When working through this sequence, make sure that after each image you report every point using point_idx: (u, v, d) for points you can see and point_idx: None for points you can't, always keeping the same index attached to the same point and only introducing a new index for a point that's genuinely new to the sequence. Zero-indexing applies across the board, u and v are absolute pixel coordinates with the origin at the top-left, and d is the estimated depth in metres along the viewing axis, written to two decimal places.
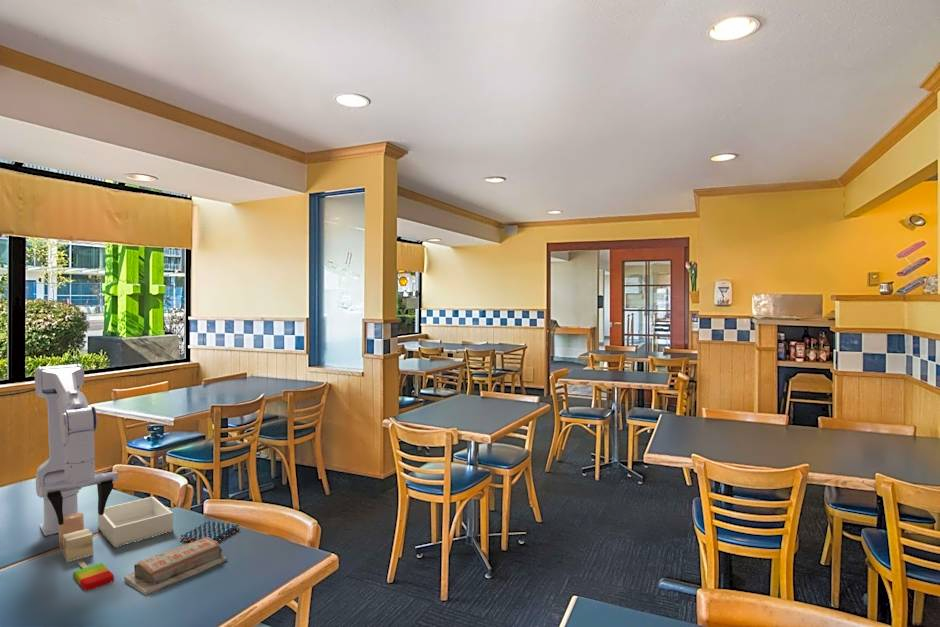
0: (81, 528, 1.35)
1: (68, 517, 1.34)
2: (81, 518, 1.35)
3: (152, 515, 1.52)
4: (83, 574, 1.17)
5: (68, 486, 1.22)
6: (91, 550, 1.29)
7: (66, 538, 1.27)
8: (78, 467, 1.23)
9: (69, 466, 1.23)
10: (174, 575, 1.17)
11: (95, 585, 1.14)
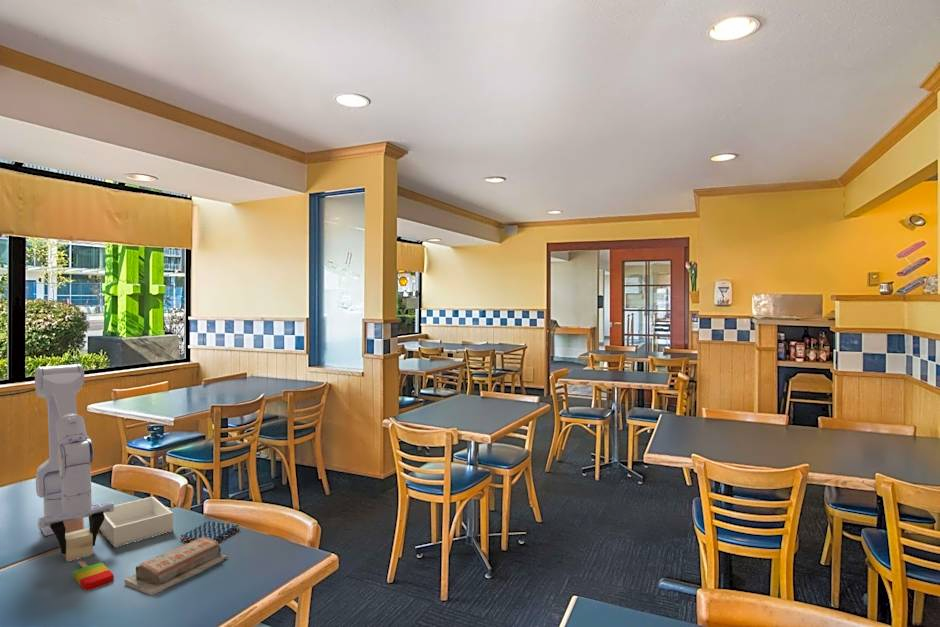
0: (81, 528, 1.35)
1: None
2: (81, 518, 1.35)
3: (152, 515, 1.52)
4: (83, 573, 1.17)
5: (65, 518, 1.26)
6: (91, 550, 1.29)
7: (66, 538, 1.27)
8: (75, 499, 1.27)
9: (66, 499, 1.26)
10: (178, 575, 1.17)
11: (95, 585, 1.14)
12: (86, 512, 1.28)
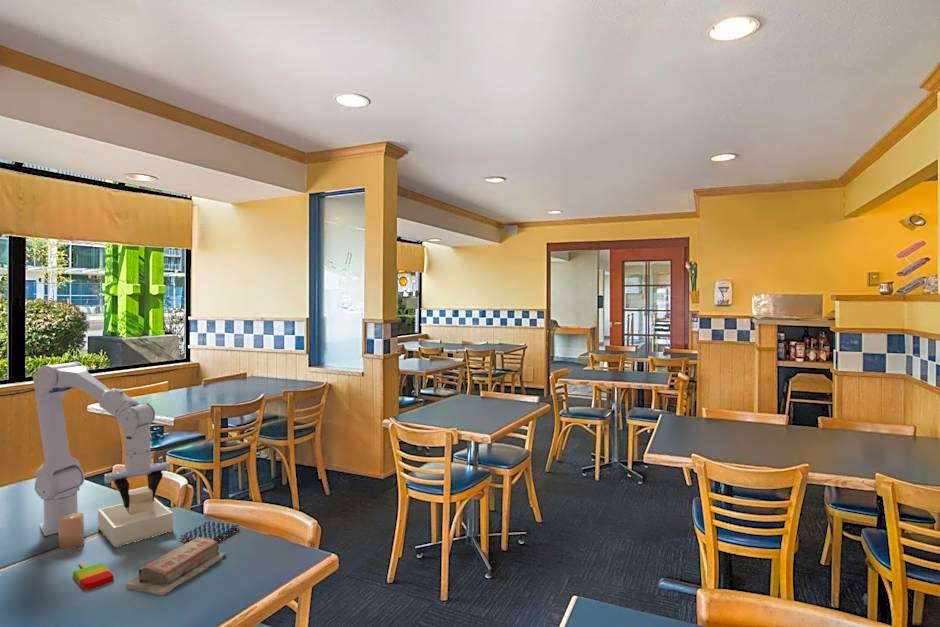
0: (81, 528, 1.35)
1: (68, 517, 1.34)
2: (81, 518, 1.35)
3: (152, 515, 1.52)
4: (83, 574, 1.17)
5: (129, 474, 1.37)
6: (151, 505, 1.40)
7: (129, 493, 1.38)
8: (137, 457, 1.38)
9: (129, 456, 1.37)
10: (183, 574, 1.18)
11: (95, 585, 1.14)
12: (147, 469, 1.39)
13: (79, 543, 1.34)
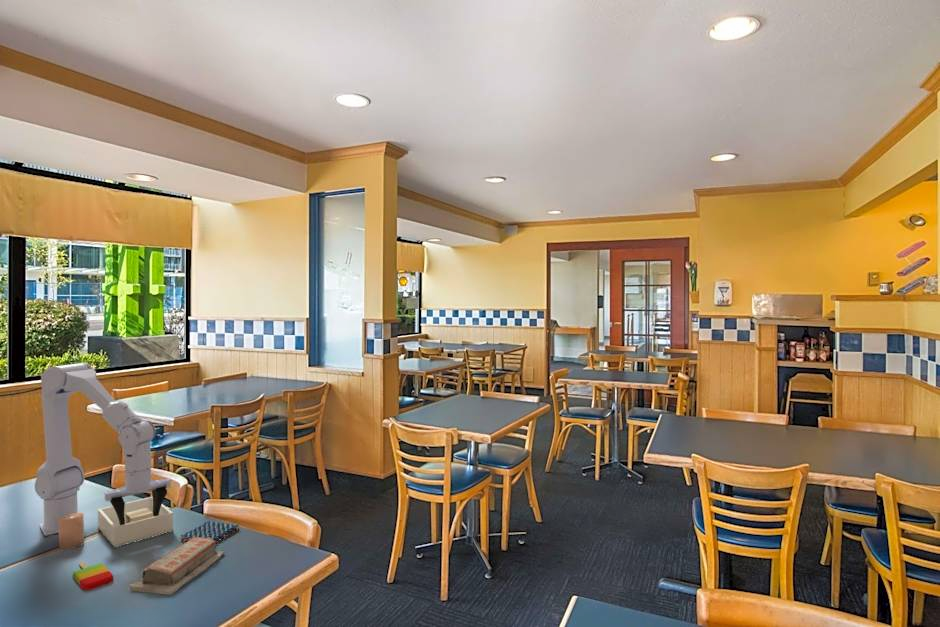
0: (81, 528, 1.35)
1: (68, 517, 1.34)
2: (81, 518, 1.35)
3: None
4: (82, 574, 1.17)
5: (129, 492, 1.37)
6: None
7: (129, 516, 1.38)
8: (137, 475, 1.38)
9: (130, 474, 1.38)
10: (187, 573, 1.18)
11: (95, 585, 1.14)
12: (147, 487, 1.40)
13: (79, 543, 1.34)
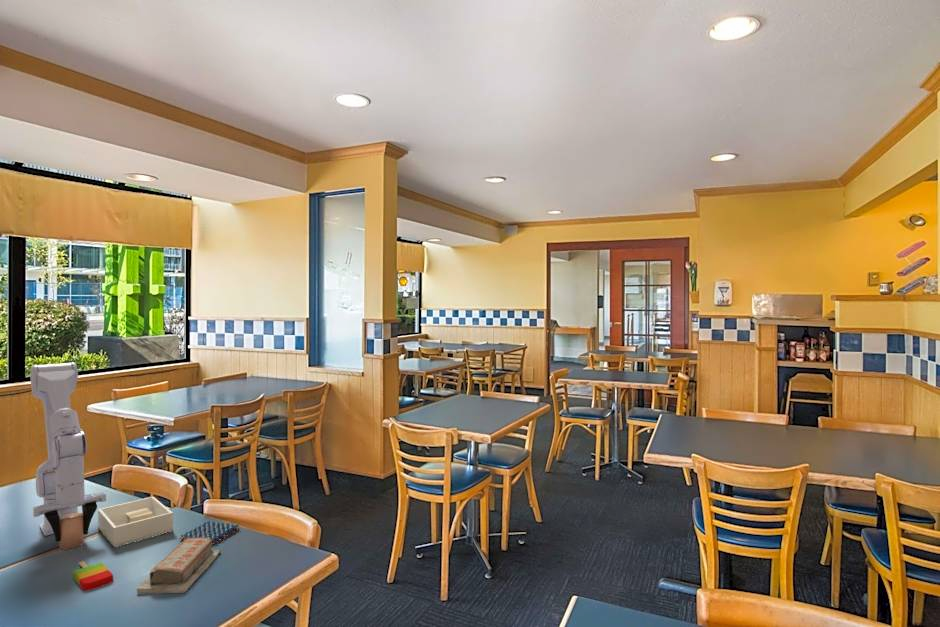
0: (81, 528, 1.35)
1: (68, 517, 1.34)
2: (81, 518, 1.35)
3: None
4: (82, 574, 1.17)
5: (59, 507, 1.31)
6: None
7: (129, 516, 1.38)
8: (68, 489, 1.32)
9: (60, 488, 1.32)
10: (193, 572, 1.18)
11: (94, 585, 1.14)
12: (79, 501, 1.34)
13: (79, 543, 1.34)
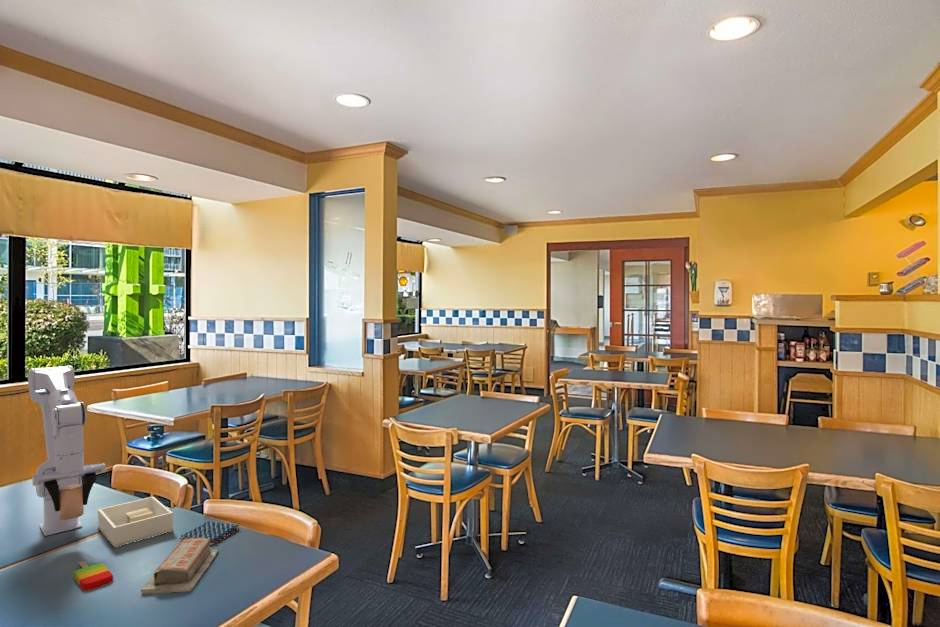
0: (81, 499, 1.35)
1: (68, 488, 1.34)
2: (80, 490, 1.35)
3: None
4: (82, 574, 1.17)
5: (58, 476, 1.31)
6: None
7: (129, 516, 1.38)
8: (68, 459, 1.32)
9: (59, 458, 1.32)
10: (196, 571, 1.19)
11: (94, 585, 1.14)
12: (79, 471, 1.34)
13: (79, 514, 1.34)
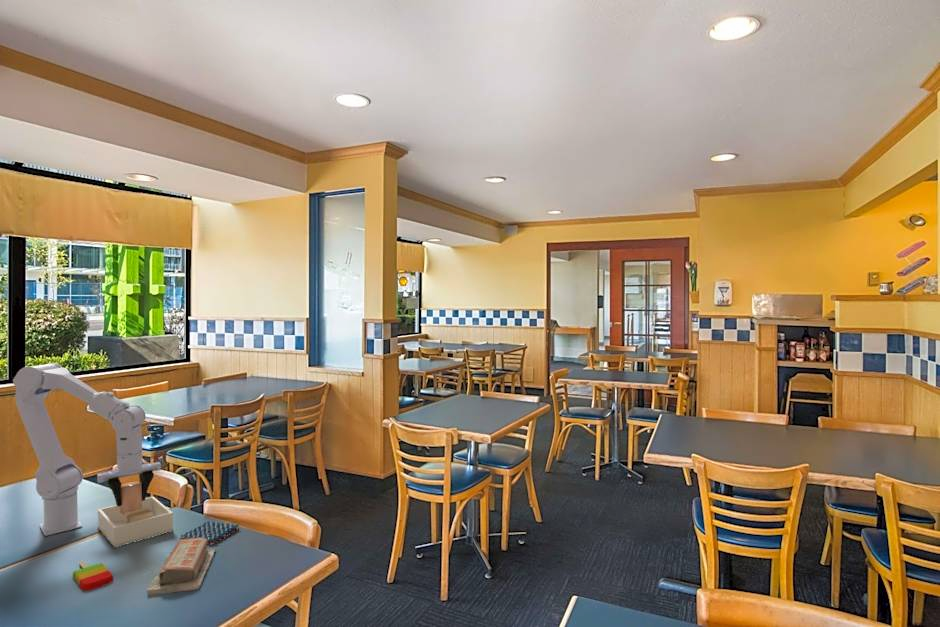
0: (140, 495, 1.46)
1: (128, 485, 1.46)
2: (139, 487, 1.46)
3: None
4: (82, 574, 1.17)
5: (121, 474, 1.43)
6: None
7: (129, 516, 1.38)
8: (129, 458, 1.44)
9: (121, 457, 1.43)
10: (199, 570, 1.19)
11: (94, 585, 1.14)
12: (138, 469, 1.45)
13: (138, 509, 1.45)
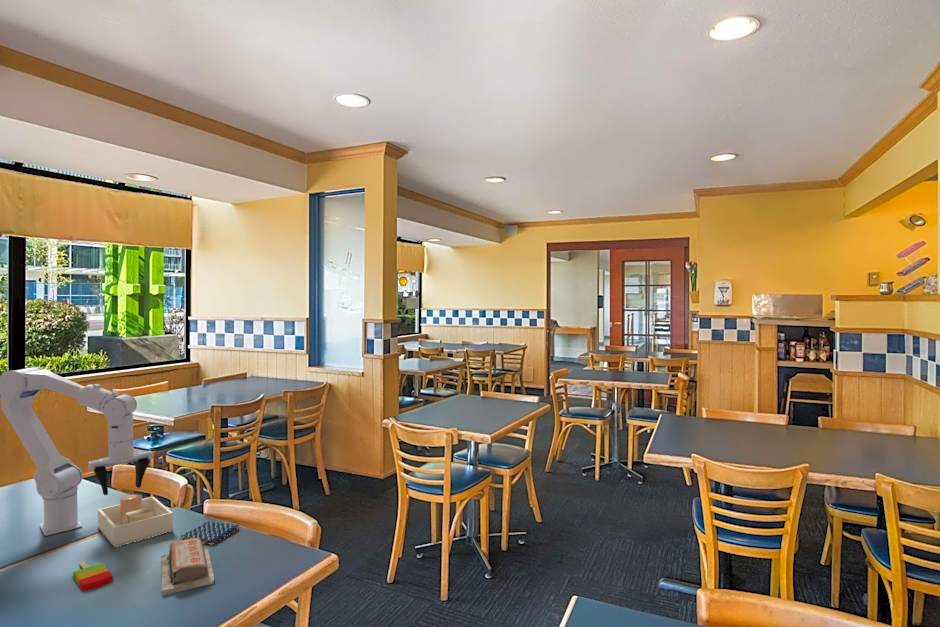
0: (140, 508, 1.46)
1: (128, 498, 1.46)
2: (140, 499, 1.46)
3: None
4: (82, 574, 1.17)
5: (112, 462, 1.43)
6: None
7: (129, 516, 1.38)
8: (120, 446, 1.44)
9: (112, 445, 1.43)
10: None
11: (94, 586, 1.14)
12: (129, 457, 1.45)
13: None
